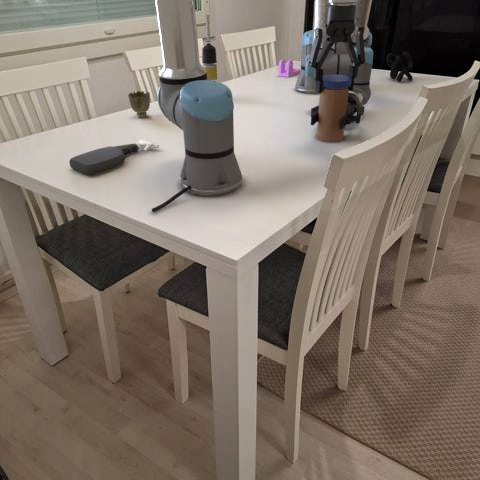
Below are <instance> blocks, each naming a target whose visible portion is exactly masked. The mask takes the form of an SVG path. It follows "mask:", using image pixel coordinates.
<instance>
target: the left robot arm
mask: <svg viewBox="0 0 480 480" xmlns="http://www.w3.org/2000/svg"><path fill="white" fill-rule="evenodd" d="M328 2H329V3H330V5H329V6H328V10H327V24H326V26H325V27H324V28H316V29H315V39H314V43H313V47H312V50H311V54H310V58H309V61H308V65H309V66H311V67H313V68H314V80H315V81H316V92H317V93H322V81H323V69H321V67H322V65H323V63H324V61H325V59H326V57H327V55H328V53H329V51H330V49H331V47H332V46H333V45H334V43H338V42H344V44H345V46H346V49H347V52H348V55H349V57H350V60H351V63H352V66H349V70H348V76H349V77H351V78H352V80H351V86H350V87H349V90H350V91H353V86H354V78H357V72H358V67H360V65H361V64H364V63H365V50H364V38H363V35H364V30H365V27H363V26H355V24H354V21H355V16H356V5H354V3H356V2H357V0H328ZM155 7H156V8H155V9H156V14H157V23H158V29H159V30H158V31H159V36H160V37H159V38H160V46H161V52H162V61H163V67H162V69H161V70H160V71H159V73H158V77H159V87H158V90H157V104H158V107H159V110H160V112H161V113H162V114H163V116H164V117H165V118H166V119H167V120H168V121H169V122H171V124H174V125H175V126H176V127H178V128H179V129H180V130H181V131H182V132H183V143H184V154H185V155H184V158H183V164H182V168H181V171H180V177H179V183H180V184H179V185H180V188H181V189H180V191H178V192H177V193H175V194H174V195H172V197H170V198H169V199H167V200H166V201H164V202H163V203H161V204H159V205H156V206H155V207H153V208H151V212H152V213H156V212H157V211H159V210H162V209H163V208H165V207H167V206H168V205H170V204H171V203H173V202H174V201H176V200H177V199H178V198H179V197H181V196H182V195H184V194H185V193H187V194H190V195H194V196H199V197H221V196H224V195H229V194H232V193H234V192H235V191H237V190H239V189H240V188H241V187H242V185H243V174H242V171H241V168H240V165H239V163H238V160H237V157H236V154H235V132H234V131H235V130H234V127H235V126H234V109H235V105H234V100H233V98H234V97H233V93H232V90H231V88H230V87H228V86H227V85H226V84H225V83H222V82H219V81H215V82H213V81H214V80H212V81H209V80H207V70H206V69H205V68H204V67H203V64H201V62H200V53H199V52H200V51H199V41H198V30H197V19H196V8H195V7H196V6H195V0H155ZM325 32H326V34H327V38H326V40H325V44H324V46H323V48H322V50H321V52H320V54H319V56H318V53H319V50H320V46H321V42H322V38H323V36H324V33H325ZM353 32H355V34H356V35H355V37H356V48H357V55H356V52H355V49H354V46H353V41H352V38H351V35H352V33H353ZM317 57H318V58H317Z"/></svg>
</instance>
